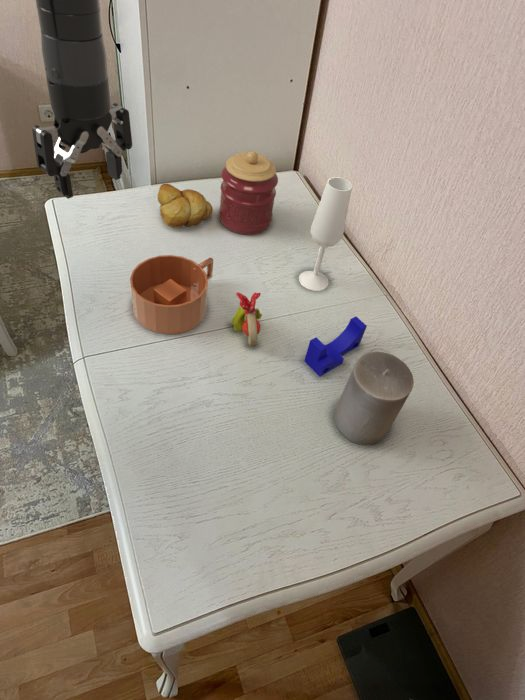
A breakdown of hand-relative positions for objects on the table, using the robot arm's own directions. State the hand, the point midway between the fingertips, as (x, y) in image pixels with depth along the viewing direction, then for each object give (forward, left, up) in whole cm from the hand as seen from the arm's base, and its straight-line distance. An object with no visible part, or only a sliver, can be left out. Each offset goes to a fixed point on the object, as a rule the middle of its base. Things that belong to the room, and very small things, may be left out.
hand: (91, 186), depth 76 cm
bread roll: (+33, +13, -29) cm, 46 cm away
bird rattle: (+16, -22, -29) cm, 39 cm away
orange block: (+10, -6, -28) cm, 30 cm away
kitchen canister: (+44, +4, -29) cm, 53 cm away
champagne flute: (+39, -21, -29) cm, 53 cm away
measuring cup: (+12, -6, -28) cm, 32 cm away
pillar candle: (+15, -49, -29) cm, 58 cm away
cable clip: (+24, -37, -29) cm, 53 cm away
